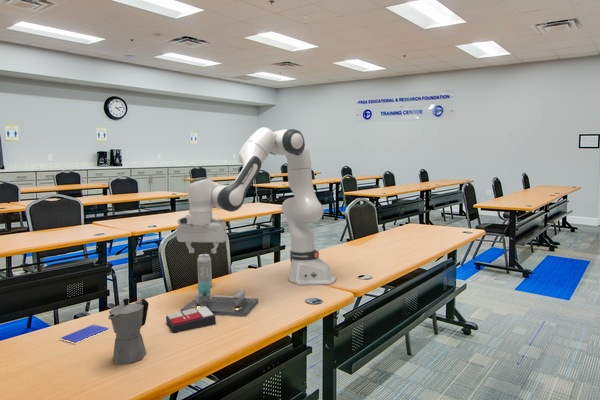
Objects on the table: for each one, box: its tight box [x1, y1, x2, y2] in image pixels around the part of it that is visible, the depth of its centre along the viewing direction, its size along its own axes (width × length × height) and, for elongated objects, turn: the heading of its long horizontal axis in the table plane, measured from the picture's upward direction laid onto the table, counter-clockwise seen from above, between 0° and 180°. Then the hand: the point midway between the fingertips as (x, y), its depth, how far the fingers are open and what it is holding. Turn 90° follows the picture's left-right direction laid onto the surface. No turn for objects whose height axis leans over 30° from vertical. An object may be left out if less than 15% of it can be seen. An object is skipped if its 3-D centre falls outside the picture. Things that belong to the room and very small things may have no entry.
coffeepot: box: [107, 298, 149, 365], centre depth 128 cm, size 15×9×18 cm, turn 159°
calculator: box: [165, 306, 217, 334], centre depth 153 cm, size 11×4×15 cm
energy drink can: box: [196, 253, 213, 289], centre depth 195 cm, size 6×6×15 cm
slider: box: [194, 281, 211, 305], centre depth 170 cm, size 3×9×7 cm, turn 169°
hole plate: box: [180, 290, 260, 318], centre depth 169 cm, size 26×16×6 cm, turn 79°
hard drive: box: [60, 324, 109, 343], centre depth 145 cm, size 2×8×12 cm
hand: (202, 253), depth 171 cm, fingers open, 8 cm apart
